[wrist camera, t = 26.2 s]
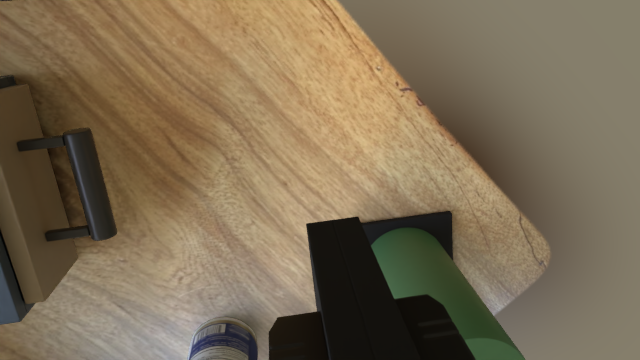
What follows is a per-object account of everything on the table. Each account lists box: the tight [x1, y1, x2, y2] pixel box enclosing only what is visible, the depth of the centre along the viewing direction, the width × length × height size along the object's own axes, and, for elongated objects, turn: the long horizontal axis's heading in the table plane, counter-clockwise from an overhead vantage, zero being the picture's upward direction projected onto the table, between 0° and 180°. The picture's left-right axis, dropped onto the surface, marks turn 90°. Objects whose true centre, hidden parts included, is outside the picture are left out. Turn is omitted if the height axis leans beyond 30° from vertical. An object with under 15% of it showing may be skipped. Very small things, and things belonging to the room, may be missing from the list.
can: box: [371, 227, 525, 360], centre depth 33 cm, size 7×7×14 cm
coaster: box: [361, 211, 453, 261], centre depth 40 cm, size 8×8×1 cm
